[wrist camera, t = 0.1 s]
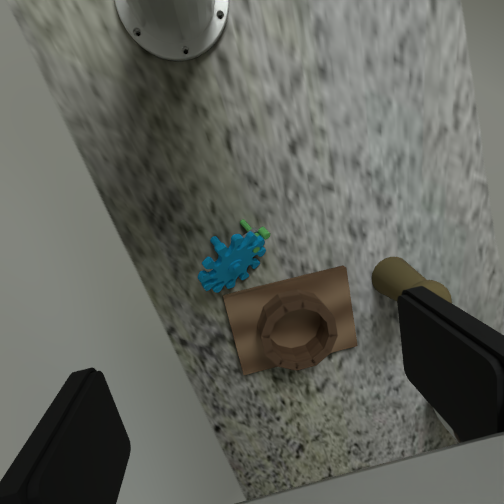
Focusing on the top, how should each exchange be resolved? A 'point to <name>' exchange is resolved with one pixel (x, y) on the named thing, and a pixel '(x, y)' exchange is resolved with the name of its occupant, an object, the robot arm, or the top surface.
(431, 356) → the robot arm
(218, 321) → the top surface
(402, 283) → the cork
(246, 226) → the gear
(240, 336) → the shaker stand
